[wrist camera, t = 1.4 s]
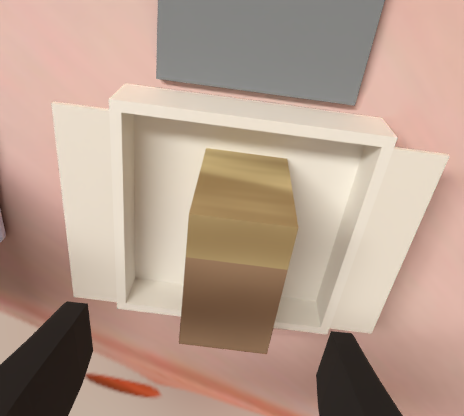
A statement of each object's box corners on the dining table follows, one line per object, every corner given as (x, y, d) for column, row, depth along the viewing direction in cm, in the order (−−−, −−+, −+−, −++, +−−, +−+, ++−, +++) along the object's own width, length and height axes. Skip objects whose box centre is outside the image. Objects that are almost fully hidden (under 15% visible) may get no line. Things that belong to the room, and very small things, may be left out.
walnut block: (264, 268, 24) (266, 354, 18) (195, 259, 23) (178, 343, 18) (287, 158, 20) (298, 227, 15) (206, 148, 20) (188, 213, 15)
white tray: (89, 274, 25) (74, 303, 23) (73, 76, 19) (49, 91, 17) (359, 307, 25) (368, 339, 23) (432, 124, 19) (454, 145, 17)
